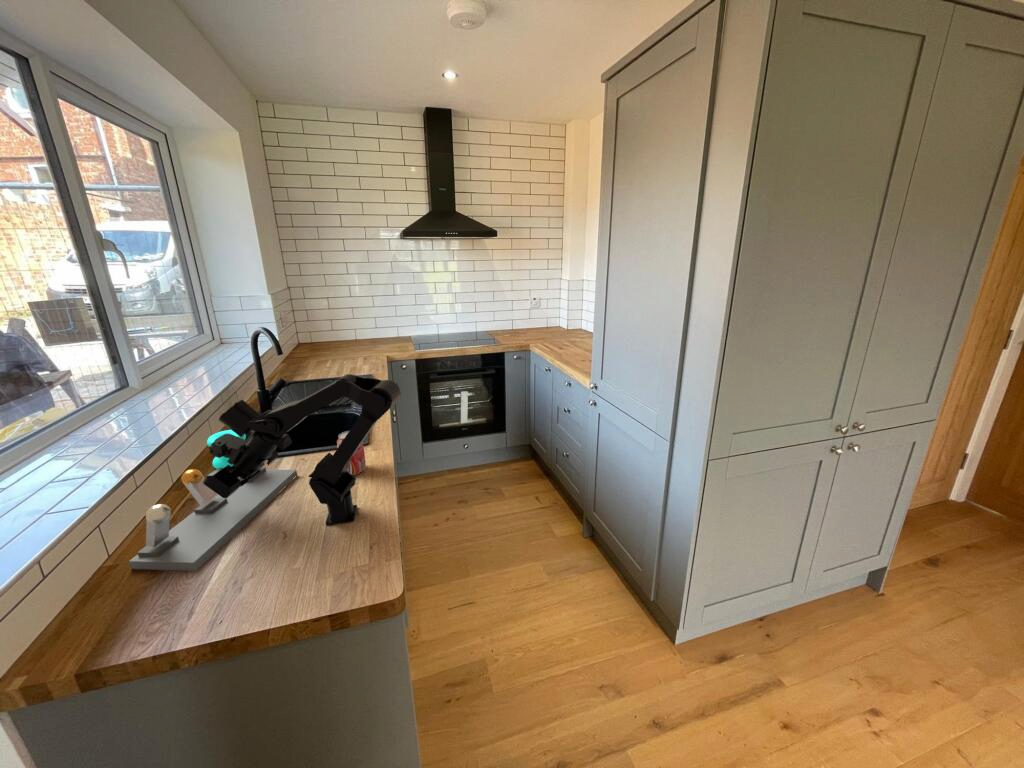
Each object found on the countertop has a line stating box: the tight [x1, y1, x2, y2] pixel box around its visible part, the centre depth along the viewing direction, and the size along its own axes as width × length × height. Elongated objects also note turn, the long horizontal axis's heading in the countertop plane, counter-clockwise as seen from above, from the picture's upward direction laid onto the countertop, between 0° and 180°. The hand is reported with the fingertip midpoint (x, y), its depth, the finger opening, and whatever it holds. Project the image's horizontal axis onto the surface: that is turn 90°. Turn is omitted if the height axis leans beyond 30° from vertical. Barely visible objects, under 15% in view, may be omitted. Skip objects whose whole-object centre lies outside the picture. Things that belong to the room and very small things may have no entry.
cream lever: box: [145, 503, 172, 547], centre depth 86 cm, size 4×4×9 cm
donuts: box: [206, 429, 247, 470], centre depth 127 cm, size 10×10×10 cm
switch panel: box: [128, 466, 298, 571], centre depth 102 cm, size 14×38×3 cm, turn 177°
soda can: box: [336, 430, 367, 476], centre depth 121 cm, size 7×7×12 cm
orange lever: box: [181, 468, 217, 506], centre depth 101 cm, size 4×4×9 cm
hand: (226, 488), depth 100 cm, fingers closed
